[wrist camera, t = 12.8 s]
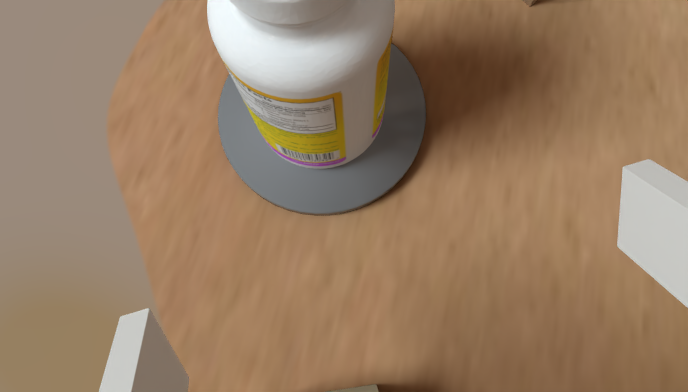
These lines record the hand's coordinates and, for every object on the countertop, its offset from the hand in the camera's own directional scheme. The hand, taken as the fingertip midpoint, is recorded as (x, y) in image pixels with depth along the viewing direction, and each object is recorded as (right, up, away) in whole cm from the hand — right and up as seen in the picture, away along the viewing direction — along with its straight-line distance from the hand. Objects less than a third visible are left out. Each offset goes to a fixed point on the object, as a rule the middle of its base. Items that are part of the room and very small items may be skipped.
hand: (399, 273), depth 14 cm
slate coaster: (-3, +6, +14) cm, 15 cm away
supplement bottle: (-3, +6, +13) cm, 15 cm away
